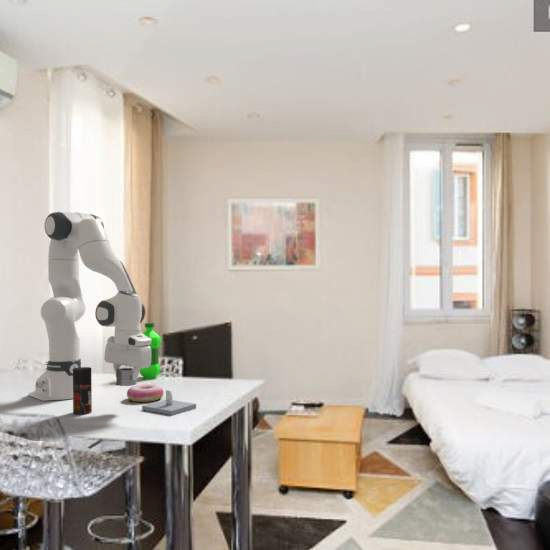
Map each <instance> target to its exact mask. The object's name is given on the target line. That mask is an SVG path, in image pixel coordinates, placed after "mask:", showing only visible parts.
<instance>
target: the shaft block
mask: <svg viewBox="0 0 550 550" xmlns="http://www.w3.org/2000/svg"><path fill="white" fill-rule="evenodd" d="M194 409H197V403H193V402H187V401H182V400H181V401H180V400H173V389H166V390H165V399H163V400H159V401H155V402H153V403H148V404H144V405H141V410H142V411H144V410H146V411H145V412H149V411H151V412H150V413H155V412H157V413H156V414H160V413H162V414H161V415H166V414H167V416H175V415H177V414H181V412H182V413H185V412H188V411H191V410H194Z"/></svg>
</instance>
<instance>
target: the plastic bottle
mask: <svg viewBox="0 0 550 550" xmlns="http://www.w3.org/2000/svg"><path fill="white" fill-rule="evenodd" d="M144 327H145V331H144V332H142V333H143V334H144V335H145V336H147V337H149V338H150V339H151V345H149V346H150V348H151V365H150V367H149V368H143V369H141V370H140V372H139V373H140V375H141V376H142V377H143V378H144V379H146V380H147V379H150V378H152V379H156V378H157V377H158V376H159V375H160V374H161V365H160V363H159V348H160V347H161V345H162V338H161V336H160V335H159V334H158V333H157V332H155V331H154V328H155V322H146V323H144ZM155 377H156V378H155Z"/></svg>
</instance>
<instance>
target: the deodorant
mask: <svg viewBox="0 0 550 550" xmlns="http://www.w3.org/2000/svg"><path fill="white" fill-rule="evenodd" d="M92 388H93V387H92V367H89V366H81V367H79V368H74V369H73V398H72V414H73V415H78V416H83V415H89V414H91V413H92V408H93V407H92V406H93V405H92V404H93V403H92V400H93V399H92V392H93V391H92Z"/></svg>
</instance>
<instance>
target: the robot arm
mask: <svg viewBox="0 0 550 550" xmlns="http://www.w3.org/2000/svg"><path fill="white" fill-rule="evenodd" d="M44 231H45V233H46V236H47V237H48V238H49V239H50V240H49V246H48V255H47V257H48V282H49V284H50V286H51V288H52V294H53V297H51V298H49V299H47V300H46V301H45V302H44V303H43V304H42V305H41V308H40V316H41V318H42V320H43V321H44V323H45V324H44V325H45V329H46V332H47V337H48V338H47V339H48V355H49V357H48V358H49V359H48V361H45V362H44V363H45V364H44V365H46V368H45V369H46V370H45V371H44V372H43V373H42V374H41V375H40V376H39V377H38V378H37V379H36V381H35V385H34V386H35V388H34V391H31V392H29V393H28V396H29V397H32V398H35V399H37V400H40V401H42V402H45V401H61V400H64V401H65V400H70V399H71V400H73V369H74V368H79V367H82V359H81V358H80V355H81V353H80V349H81V348H80V337H79V336H78V333H77V332H78V331H77V329H76V324H75V323H77V321H79V320H81V319H82V317H83V316H84V314H85V312H86V304H85V302H84V300H83V294H82V289H81V284H80V265H79V263H80V261H79V259H81V262H82V263H83V265H84V266H85V267H86V268H87V269H88V270H91V271H92V272H94V273H97V274H101V275H103V276H105V277H107V278H109V279H110V280H111V281H112V282H113V283H114V285H115V287H116V290H117V293H116V294H115V295H114V296H112V297H110V298H107V299H104V300H100V302H98V304H97V305H96V307H95V314H94V315H95V319H96V321H97V323H98V324H99V325H100V326H101V327H105V328H106V327H107V328H109V327H111V328H112V327H114V336H113V335H111V336H109V337H108V338H107V340H106V345H105V349H104V361H105V363H107V364H108V363H109V364H113V369H114V371H115V377H116V376H117V369H120V368H121V366H125V367H129V368H133V370H134V372H133V375H131V380H136V381H137V380H138V377H139V376H138V375H139V373H140V370H141V369H143V368H149V367H150V365H151V348H150V346H149V345H151V339H150V338H149V337H147V336H145V335H144V334H143V333H144V332H142V327H141V323H142V322H143V321H144V319H145V318H146V308H145V304H144V303H143V302H142V299H141V297H142V296H141V295H140V294H139V293H138V292H137V291H136V289H135V287H134V284H133V281H132V280H131V277H130V276H129V273H128V271H127V269H126V267H125V265H124V263H123V262H122V261H121V260H120V259H119V258H118V257H117V256H116V254H115V253H114V251H113V249H112V247H111V244H110V240H109V238H108V234H107V232H106V230H105V225H104V222H103V220H102V218H100V216H98V215H95V214H87V213H83V212H76V211H75V212H61V211H55V212H50V213H49V214H48V216H47V217H46V219H45V220H44ZM79 257H80V258H79Z"/></svg>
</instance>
